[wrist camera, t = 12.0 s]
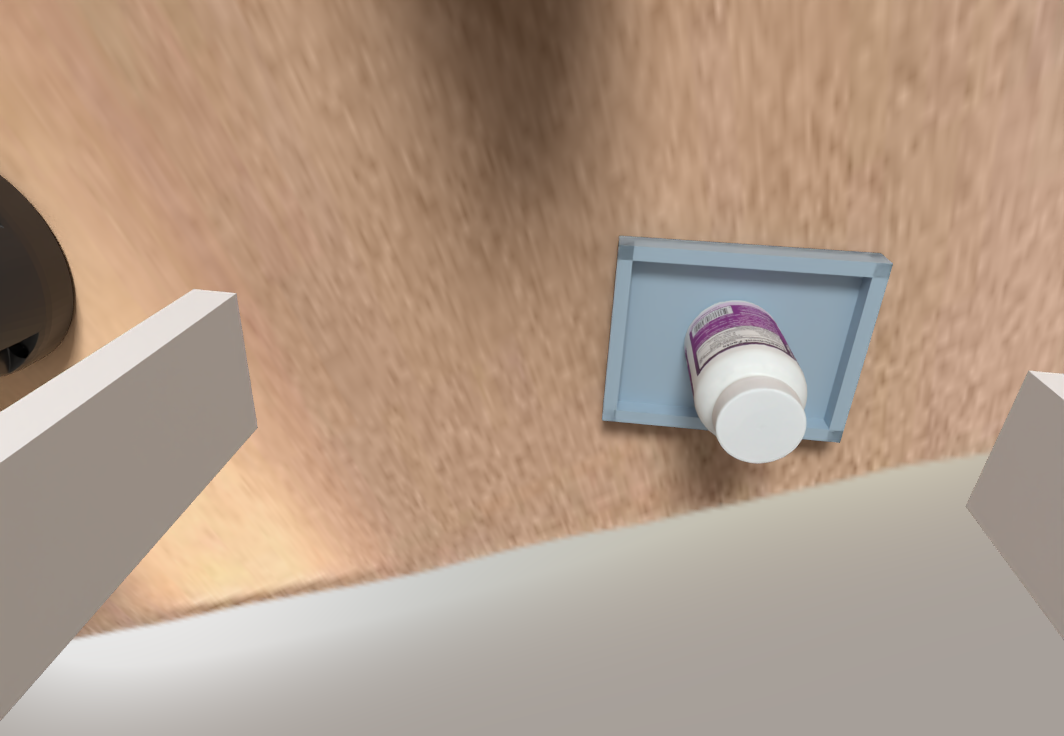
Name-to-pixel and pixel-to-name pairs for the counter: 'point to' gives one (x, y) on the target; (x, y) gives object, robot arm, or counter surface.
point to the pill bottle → (746, 381)
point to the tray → (748, 275)
